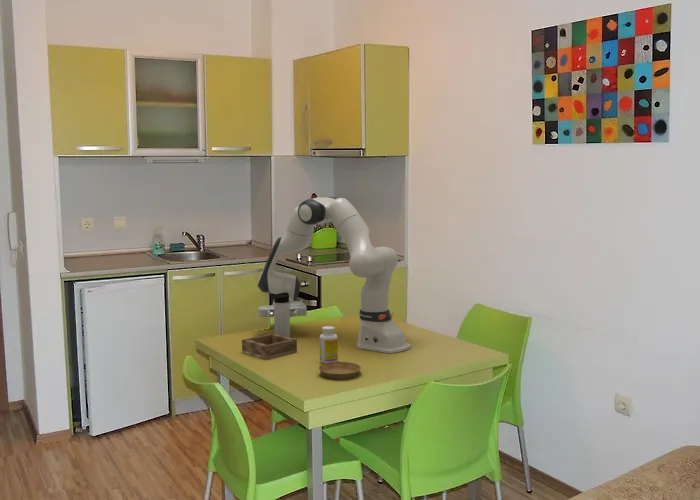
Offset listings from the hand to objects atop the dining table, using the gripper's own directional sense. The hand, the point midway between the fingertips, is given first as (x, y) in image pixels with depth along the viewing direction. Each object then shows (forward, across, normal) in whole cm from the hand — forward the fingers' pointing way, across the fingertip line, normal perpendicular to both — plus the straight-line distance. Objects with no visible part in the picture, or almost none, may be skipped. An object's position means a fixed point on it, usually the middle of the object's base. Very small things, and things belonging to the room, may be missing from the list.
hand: (282, 314), depth 295 cm
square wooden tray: (+17, -5, +11) cm, 21 cm away
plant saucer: (+48, +20, +12) cm, 54 cm away
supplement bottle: (+33, +17, +11) cm, 39 cm away
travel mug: (+1, 0, +11) cm, 11 cm away
